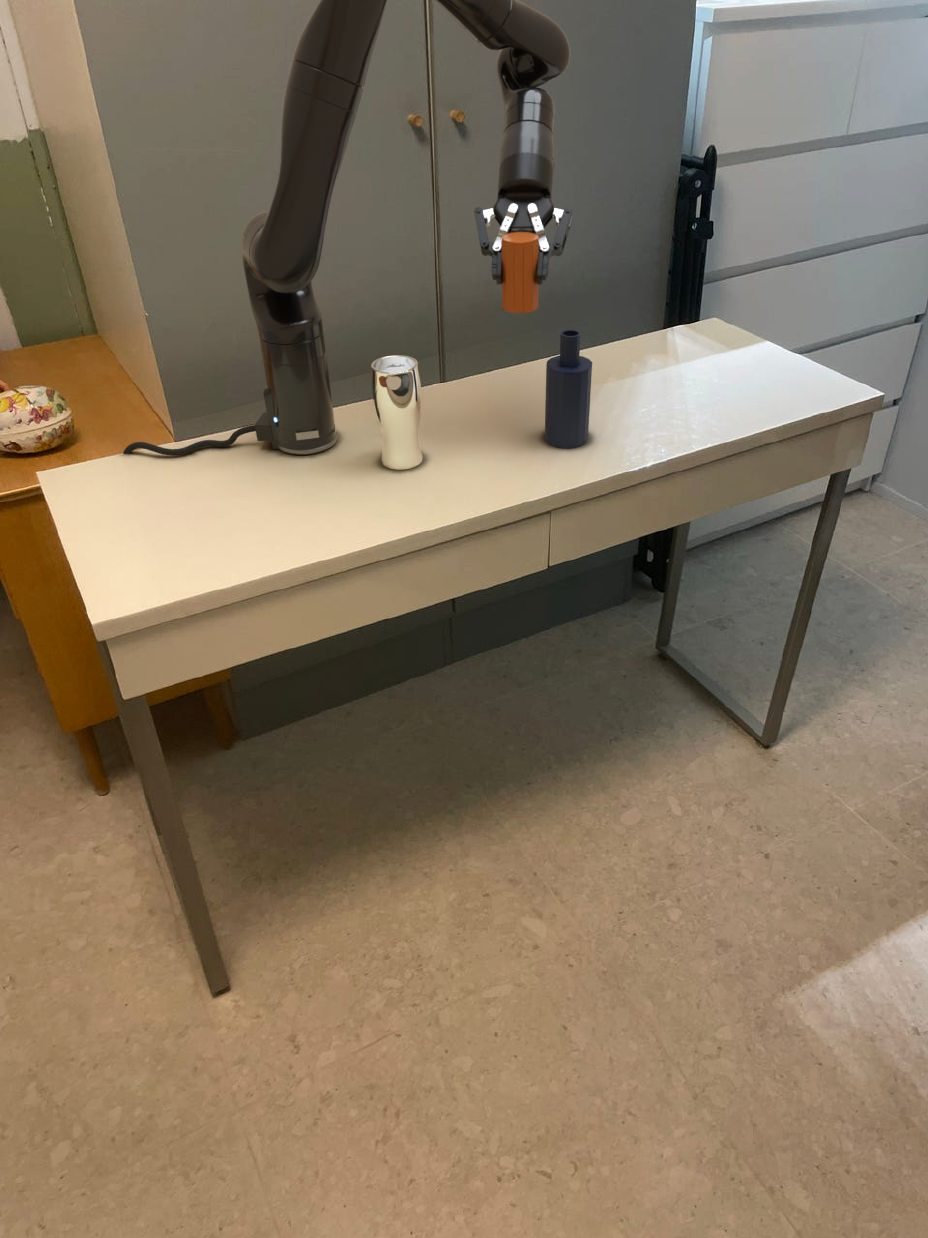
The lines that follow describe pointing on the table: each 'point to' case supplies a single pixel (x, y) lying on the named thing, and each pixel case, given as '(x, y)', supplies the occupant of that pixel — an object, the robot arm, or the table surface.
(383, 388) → the silver metal tumbler
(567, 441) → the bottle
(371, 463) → the table surface
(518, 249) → the grooved orange cylinder
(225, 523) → the table surface
